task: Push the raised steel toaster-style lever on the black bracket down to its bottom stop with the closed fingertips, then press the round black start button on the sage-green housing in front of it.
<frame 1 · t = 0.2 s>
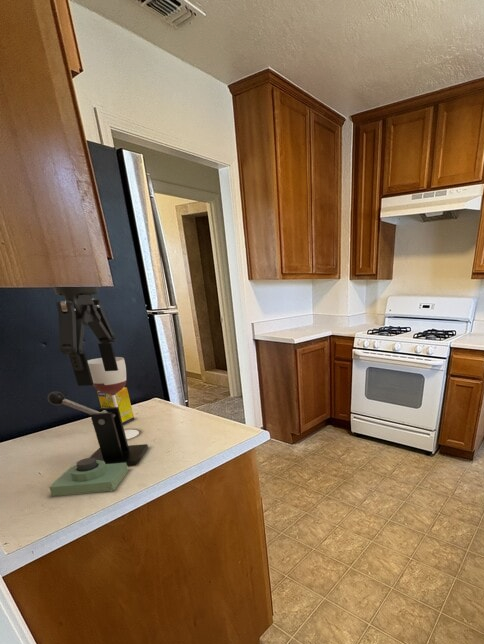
hand: (99, 377, 79), 21 cm above the counter, tool pointing down, fingers open, 13 cm apart
bracket: (117, 458, 90), on the counter
wineglass: (123, 435, 104), on the counter
button: (87, 464, 77), point 4 cm above the counter, slide at 0.1 cm
supplement box: (120, 422, 114), on the counter
button box: (92, 482, 79), on the counter
lever: (81, 408, 84), point 14 cm above the counter, hinge at 30.0°
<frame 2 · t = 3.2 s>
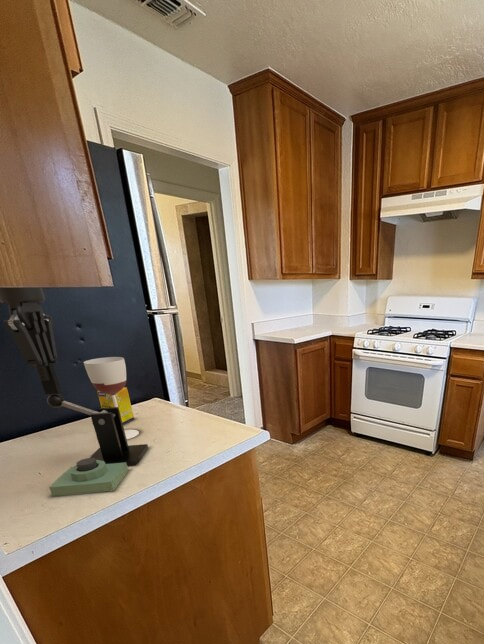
hand: (53, 393, 81), 18 cm above the counter, tool pointing down, fingers closed
lever: (81, 409, 84), point 14 cm above the counter, hinge at 26.6°, touching gripper
everything else where it was.
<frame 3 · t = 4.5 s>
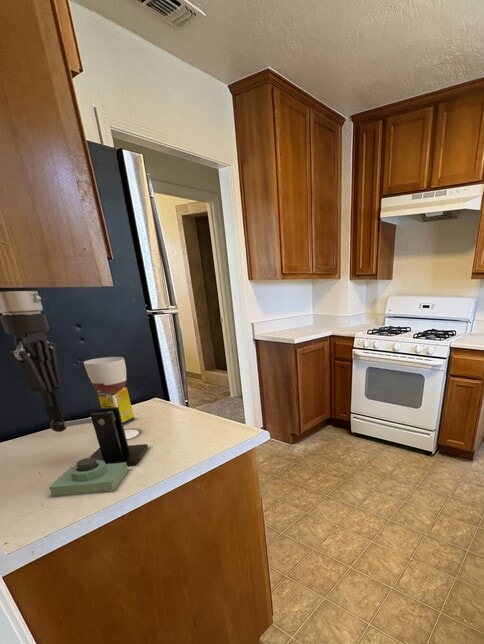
hand: (57, 417, 84), 12 cm above the counter, tool pointing down, fingers closed
lever: (82, 421, 85), point 10 cm above the counter, hinge at -6.0°, touching gripper
everything else where it was.
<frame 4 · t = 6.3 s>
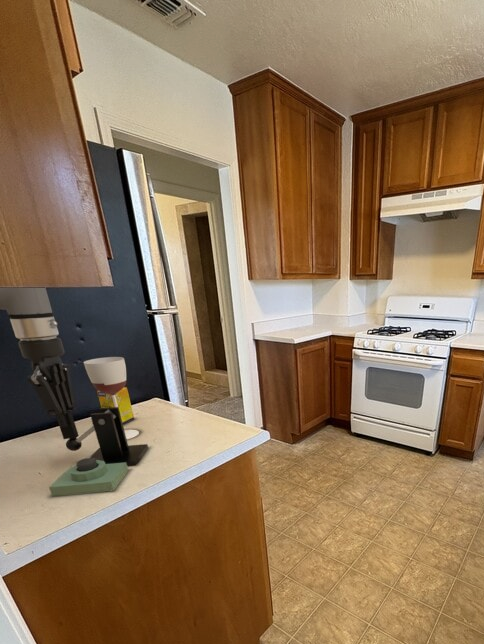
hand: (71, 437, 86), 7 cm above the counter, tool pointing down, fingers closed
lever: (89, 431, 86), point 8 cm above the counter, hinge at -35.0°, touching gripper
everything else where it was.
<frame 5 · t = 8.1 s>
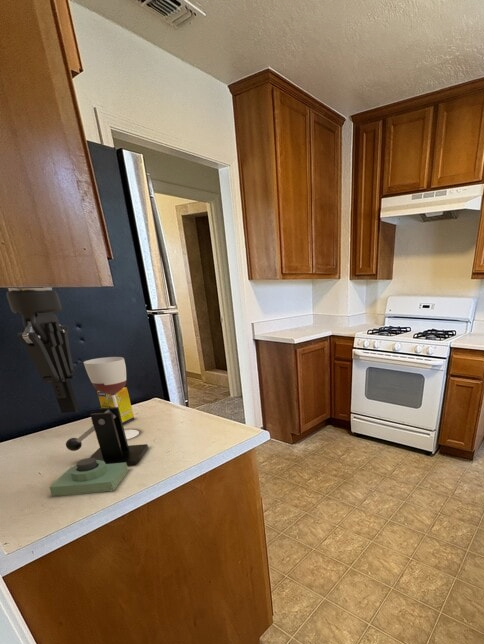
hand: (70, 411, 74), 16 cm above the counter, tool pointing down, fingers closed
lever: (89, 431, 86), point 8 cm above the counter, hinge at -35.0°
everything else where it was.
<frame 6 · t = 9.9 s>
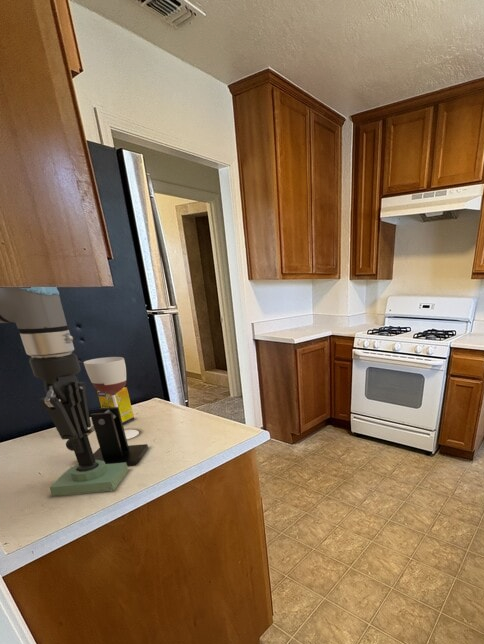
hand: (87, 463, 77), 5 cm above the counter, tool pointing down, fingers closed
button: (88, 468, 77), point 4 cm above the counter, slide at -0.7 cm, touching gripper
everything else where it was.
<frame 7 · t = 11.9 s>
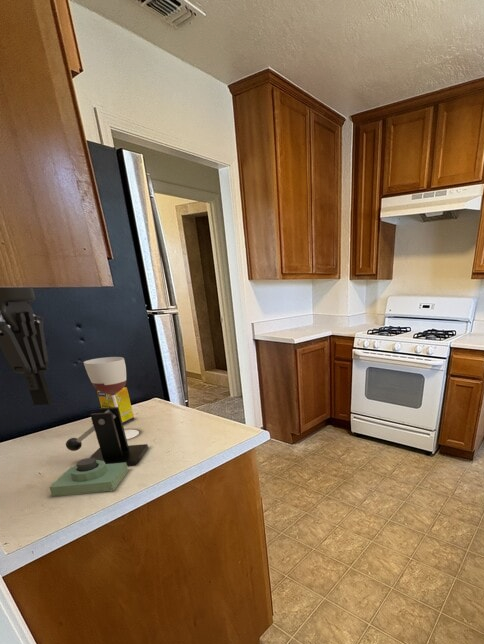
hand: (43, 403, 72), 18 cm above the counter, tool pointing down, fingers closed
button: (87, 464, 77), point 4 cm above the counter, slide at 0.1 cm
everything else where it was.
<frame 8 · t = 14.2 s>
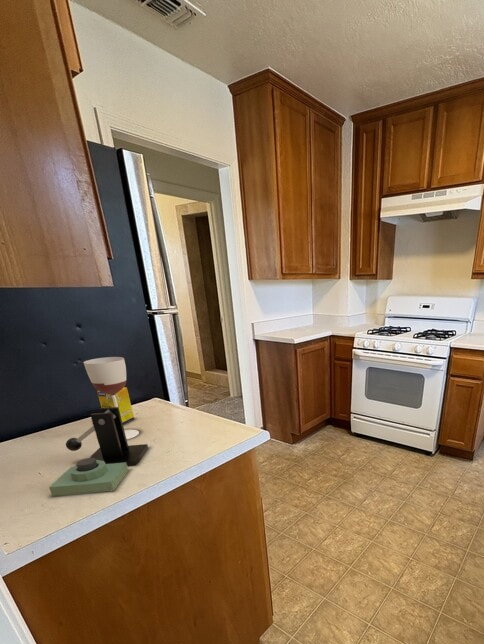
nothing on the counter moved.
at the end: lever at -35° (first picture: +30°); button pushed in 1.0 cm at the most during the clip, back to where it started at the end; button slide at 0.1 cm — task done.
